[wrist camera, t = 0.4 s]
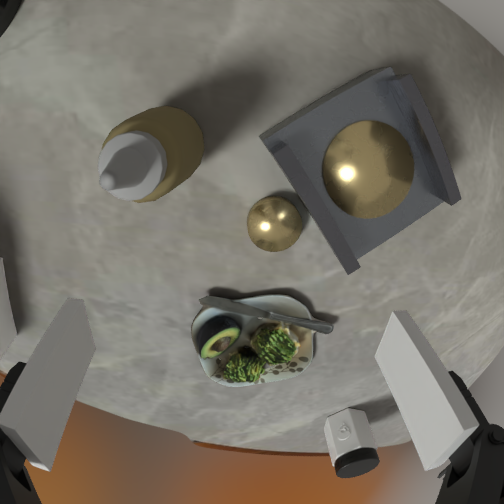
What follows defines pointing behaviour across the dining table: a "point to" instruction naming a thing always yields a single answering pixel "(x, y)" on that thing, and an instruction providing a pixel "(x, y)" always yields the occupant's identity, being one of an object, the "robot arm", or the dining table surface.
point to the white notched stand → (5, 315)
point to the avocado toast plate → (254, 338)
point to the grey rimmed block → (364, 161)
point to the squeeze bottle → (150, 154)
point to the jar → (351, 443)
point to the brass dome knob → (274, 224)
